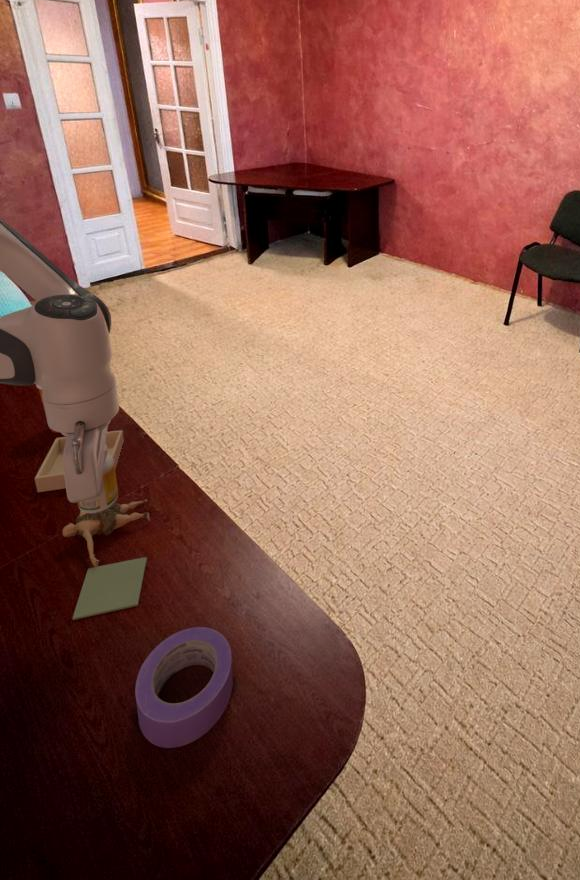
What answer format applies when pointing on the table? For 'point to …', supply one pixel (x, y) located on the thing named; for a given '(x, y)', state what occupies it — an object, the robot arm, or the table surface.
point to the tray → (52, 466)
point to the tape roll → (197, 714)
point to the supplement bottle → (103, 488)
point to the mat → (111, 588)
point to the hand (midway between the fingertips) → (95, 482)
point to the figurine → (102, 523)
